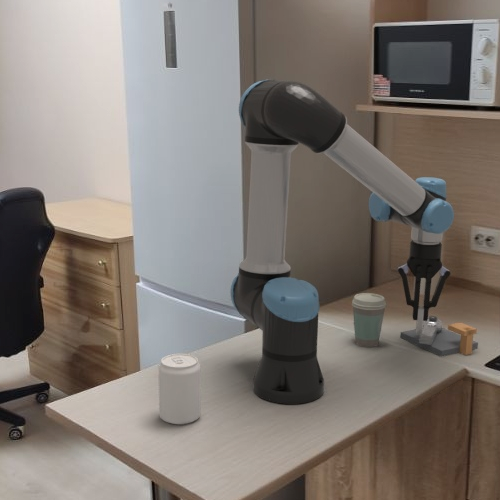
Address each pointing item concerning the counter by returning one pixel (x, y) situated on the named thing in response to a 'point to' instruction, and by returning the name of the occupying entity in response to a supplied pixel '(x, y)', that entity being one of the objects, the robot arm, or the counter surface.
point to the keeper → (464, 336)
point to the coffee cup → (368, 318)
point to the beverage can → (179, 389)
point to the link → (430, 330)
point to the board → (438, 342)
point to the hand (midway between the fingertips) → (418, 332)
